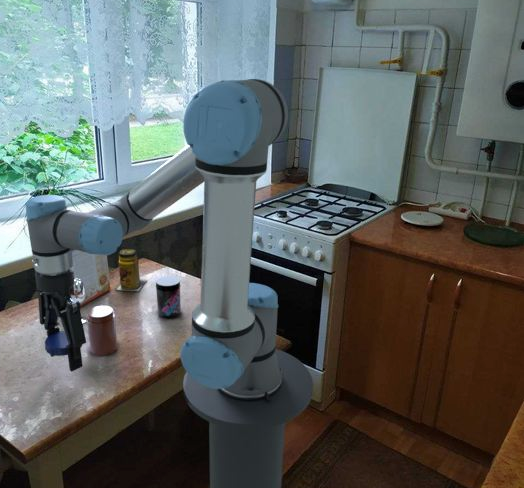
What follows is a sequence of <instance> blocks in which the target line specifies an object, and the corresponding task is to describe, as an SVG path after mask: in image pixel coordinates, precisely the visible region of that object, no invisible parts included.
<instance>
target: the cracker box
mask: <svg viewBox="0 0 524 488" xmlns="http://www.w3.org/2000/svg"><path fill="white" fill-rule="evenodd" d="M71 252H72V261H73V266H72V268H73V270H74V278H79V279H81V280H82V282H83V284H84V287H85V292H86V295H85V298H84V300H83V301H82V302H80V307H82V306H84V305H85V304H87V303H89V302H91V301H93V300H94V299H96V298H98V297H100V296H101V295H104V294H106V293H107V292H109V291H111V282H110V271H109V263H108V255H100V254H97V255H96V254H90V253H87V252H83V251H79V250H74V249H71Z"/></svg>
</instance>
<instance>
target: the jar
mask: <svg viewBox="0 0 524 488" xmlns="http://www.w3.org/2000/svg"><path fill="white" fill-rule="evenodd" d="M86 314H87V317H86V326H87V327H86V328H87V334H88V344H89V351H90V353H91V354H92V355H94V356H98V357H99V356H108V355H110V354H113V353H115V352H116V351H117V350H118V347H119V346H118V335H117V325H116V316H115V313H114V308H112V306H110V305H97V306H93V307H91V308H90V309H88V310H87V313H86Z"/></svg>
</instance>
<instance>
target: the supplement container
mask: <svg viewBox="0 0 524 488" xmlns="http://www.w3.org/2000/svg"><path fill="white" fill-rule="evenodd" d="M155 290H156V291H155V292H156V293H155V294H156V309H157V311H156V312H157V315H158V316H159V317H161V318H163V319H173V318H176V317H178V316H179V315H180V314H181V312H182V306H181V305H182V303H181V301H182V300H181V279H180V278H179V277H178V276H175V275H164V276H160V277H157V278H156V279H155Z"/></svg>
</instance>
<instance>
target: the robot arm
mask: <svg viewBox="0 0 524 488" xmlns="http://www.w3.org/2000/svg"><path fill="white" fill-rule="evenodd" d="M288 121H289V108H288V104H287V101H286V99H285V96H284V95H283V93H282V92H281V91H280V90H279V89H278V88H277V87H276V86H275V85H273V84H272V83H271V82H269V81H266V80H263V79H259V78H250V79H236V80H235V79H229V80H225V79H223V80H219V81H216V82H213V83H211V84H208V85H205V86H204V87H202V88H201V89H199V90H198V91H197V92H196V93H195V94H194V95H193V96H192V97H191V98H190V100H189V101H188V104H187V105H186V108H185V110H184V114H183V122H182V129H183V135H184V139H185V142H186V144H187V145H186V146H185V147H183V148H182V149H181V150H179V151H178V152H177V153H176V154H175V155H173V156H172V157H171V158H170V159H168V160H167V161H166V162H165V163H163V164H162V165H161V166H160V167H158V168H157V169H156V170H155V171H153V172H152V173H151V174H149V175H148V176H147V177H145V178H144V179H143V180H142V181H140V182H139V183H138V184H137V185H136V186H134V187H133V188H131V190H130V191H128V192H127V193H126V194H124V195H123V196H122V197H120V198H119V199H117V200H116V201H113V202H111V203H108V204H106V205H103V206H101V207H97V208H96V209H93V210H91V211H88V212H81V211H74V210H70V209H68V205H67V203H66V199H65V198H64V197H62V196H61V195H57V194H43V195H37V196H33V197H30V198H29V199H27V201H26V203H25V214H26V216H25V217H26V219H25V222H26V224H27V230H28V235H29V242H30V248H31V254H32V255H31V256H32V260H31V264H32V265H33V267H34V271H35V273H34V276H35V277H34V278H35V283H36V288H35V289H36V294H37V300H38V316H39V323H40V325H42V326H44V328H43V329H45V331H46V336H47V337H48V336H50V335H51V334H53V333H56V332H59V331H61V330H60V327H59V326H60V325H62V328H63V331H65V334H66V337H67V340H68V343H69V344H68V345H66V348H67V353H68V355H67V359H68V367H69V371H70V372H75V371H77V370H79V369H81V368H83V366H84V365H83V358H82V350H81V348H82V347H81V348H80V345H82V344H83V345H85V344H87V338H86V333H85V328H84V323H82V318H81V317H82V313H81V306H80V302H79V301H77V302H74V301H72V297H71V294H70V289H71V287H72V286H73V285H74V283H75V279H74V270H73V268H72V266H73V261H72V252H71V249H74V250H79V251H83V252H87V253H90V254H96V255H97V254H100V255H107V256H110V255H112V254H114V253H116V252H117V250H118V248H119V247H120V246H121V244H122V243H123V242H122V241H123V239H124V237H126V236H129V235H130V234H132V233H134V232H137V231H140V230H143V228H145V227H147V226H148V225H150V224H151V223H152V221H153V220H154V218H156V217H157V216H158V215H160V214H161V213H163V212H164V211H166V210H167V209H168V208H169V207H171V206H173V205H174V204H175V203H177V202H178V201H179V200H181V199H182V198H184V197H185V196H187V195H188V194H189V193H191V192H192V191H193V190H195V189H196V188H197V187H199V186H200V185H202V184H203V183H204V184H203V213H202V214H203V215H202V216H203V217H202V244H201V245H202V246H201V278H200V279H201V280H200V281H201V283H200V303H198V304H197V305H195V307H194V308H193V310H192V311H191V312H192V313H191V334H190V336H189V337H188V338H186V340H185V341H184V343H183V345H182V346H181V349H180V362H181V364H182V366H183V368H184V370H185V372H186V371H187V373H188V374H190V375H191V376H192V378H193V379H194V380H196V381H197V382H198V383H200V384H202V385H204V386H206V387H209V388H213V389H218V390H219V391H220V392H221V393H222V394H224V395H225V396H227V397H229V398H232V399H235V400H239V401H258V400H263V399H267V401H268V402H270V401H271V399H270V396H272V395H274V394H275V393H276V392H277V391H278V390H279V389H280V387H281V385H282V371H281V367H280V365H279V364H278V359H277V355H276V352H275V349H276V345H277V328H278V327H277V326H278V325H277V324H278V311H279V310H278V308H279V304H278V294H277V292H276V291H275V290H274V289H273V288H271V287H270V286H267V285H265V284H261V283H255V282H250V277H251V276H250V275H251V263H252V249H253V247H252V246H253V237H254V236H253V235H254V223H255V222H254V219H255V206H256V205H255V204H256V193H257V182H258V180H259V179H260V178H261V177H262V176H263V175H265V174H266V173H267V170H268V158H269V157H268V156H269V147H270V146H271V145H273V144H274V143H275V142H277V141H278V140H279V139H280V138H281V137H282V135H283V133H284V132H285V129H286V128H287V124H288ZM59 319H60V322H59ZM60 323H61V324H60ZM47 337H46V338H47ZM83 345H82V346H83ZM49 356H50V357H51V358H52V357H55V356H54V355H50V354H49Z"/></svg>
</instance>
